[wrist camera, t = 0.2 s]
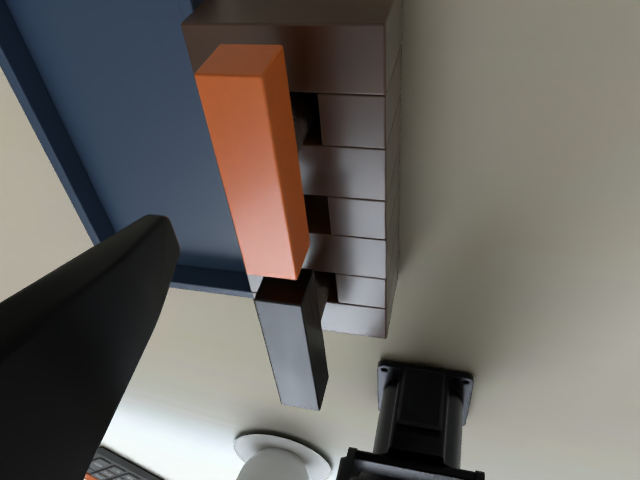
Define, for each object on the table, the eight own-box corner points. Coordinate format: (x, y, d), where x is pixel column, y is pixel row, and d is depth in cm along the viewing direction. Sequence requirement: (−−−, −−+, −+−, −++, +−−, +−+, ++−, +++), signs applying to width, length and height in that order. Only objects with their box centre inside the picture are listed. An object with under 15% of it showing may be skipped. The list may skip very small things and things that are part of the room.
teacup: (264, 418, 48) (247, 469, 45) (352, 465, 50) (342, 516, 47) (219, 446, 55) (201, 491, 51) (299, 486, 57) (287, 532, 54)
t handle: (346, 144, 26) (297, 281, 19) (306, 142, 26) (246, 275, 20) (335, -34, 20) (262, 75, 14) (285, -33, 21) (192, 73, 14)
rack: (397, 277, 31) (386, 339, 28) (281, 264, 33) (258, 321, 30) (403, -24, 20) (385, 23, 17) (225, -21, 22) (179, 23, 18)
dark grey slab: (354, 277, 32) (320, 411, 26) (322, 273, 33) (280, 404, 26) (347, 168, 27) (301, 305, 20) (309, 166, 27) (252, 299, 21)
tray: (273, 276, 34) (264, 300, 32) (126, 258, 36) (111, 280, 35) (202, -53, 21) (181, -37, 20) (-19, -46, 23) (-52, -31, 22)
